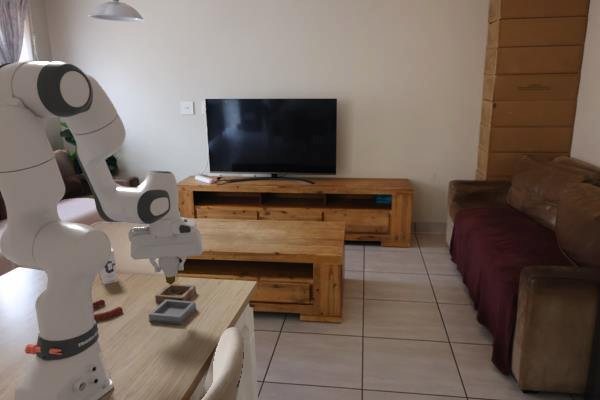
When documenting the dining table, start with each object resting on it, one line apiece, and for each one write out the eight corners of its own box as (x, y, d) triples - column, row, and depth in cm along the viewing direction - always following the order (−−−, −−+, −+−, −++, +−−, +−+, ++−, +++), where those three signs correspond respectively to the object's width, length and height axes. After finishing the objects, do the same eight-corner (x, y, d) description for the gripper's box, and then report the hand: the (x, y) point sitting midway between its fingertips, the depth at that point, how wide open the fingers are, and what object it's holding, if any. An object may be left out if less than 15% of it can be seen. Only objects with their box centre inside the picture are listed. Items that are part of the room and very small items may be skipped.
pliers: (38, 331, 131) (37, 323, 130) (103, 305, 147) (102, 297, 146) (59, 343, 124) (58, 335, 124) (124, 314, 140) (123, 306, 140)
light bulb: (174, 288, 132) (171, 256, 130) (156, 286, 134) (153, 254, 131) (185, 280, 137) (182, 249, 135) (167, 278, 139) (164, 247, 137)
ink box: (99, 277, 168) (95, 246, 165) (113, 274, 171) (109, 244, 168) (103, 285, 161) (99, 253, 158) (118, 281, 164) (114, 250, 161)
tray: (180, 325, 132) (180, 317, 131) (149, 321, 134) (148, 314, 133) (195, 309, 141) (195, 301, 141) (166, 306, 143) (165, 299, 143)
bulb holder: (182, 305, 144) (182, 298, 144) (155, 302, 146) (155, 295, 146) (195, 292, 153) (195, 285, 152) (170, 290, 155) (169, 283, 155)
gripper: (124, 231, 127) (130, 277, 130) (199, 226, 129) (203, 272, 133) (130, 224, 133) (135, 269, 136) (201, 220, 135) (205, 264, 139)
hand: (169, 270), depth 134 cm, fingers closed on light bulb, 5 cm apart
